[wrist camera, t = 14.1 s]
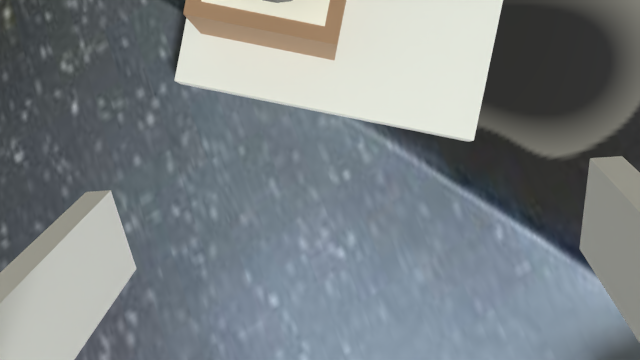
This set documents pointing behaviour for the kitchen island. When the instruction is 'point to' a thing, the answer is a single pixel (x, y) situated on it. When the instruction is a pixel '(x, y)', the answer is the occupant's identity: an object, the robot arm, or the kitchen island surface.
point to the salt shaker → (278, 1)
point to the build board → (348, 57)
